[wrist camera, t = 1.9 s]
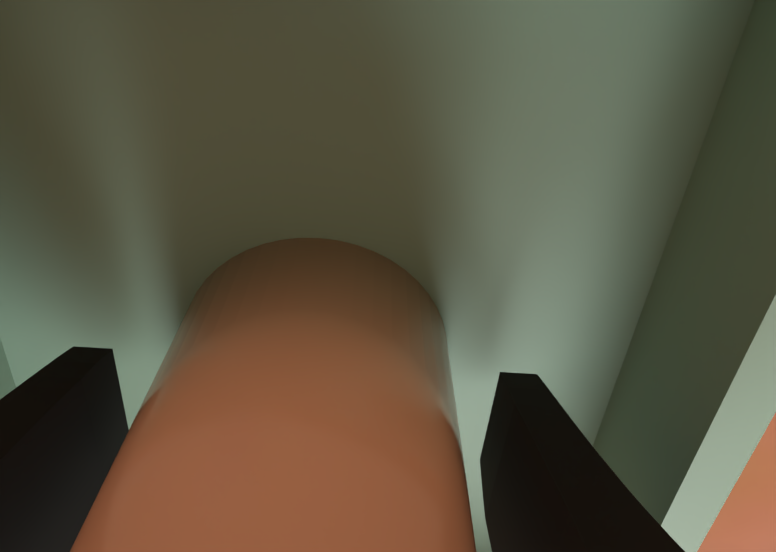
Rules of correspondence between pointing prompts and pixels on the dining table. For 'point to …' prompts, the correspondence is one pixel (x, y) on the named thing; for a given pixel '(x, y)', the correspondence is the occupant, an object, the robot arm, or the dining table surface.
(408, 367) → the salmon pink cylinder
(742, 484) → the dining table surface
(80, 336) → the pale green open box
